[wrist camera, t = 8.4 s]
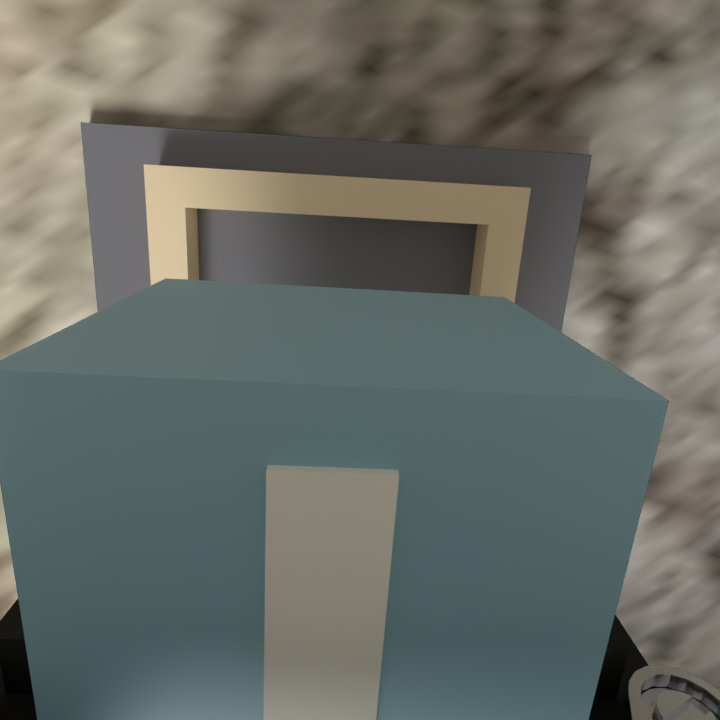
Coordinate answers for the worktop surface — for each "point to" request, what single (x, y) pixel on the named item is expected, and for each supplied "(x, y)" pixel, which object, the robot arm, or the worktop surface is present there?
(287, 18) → the worktop surface
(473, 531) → the card box
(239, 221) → the mat
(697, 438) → the worktop surface
